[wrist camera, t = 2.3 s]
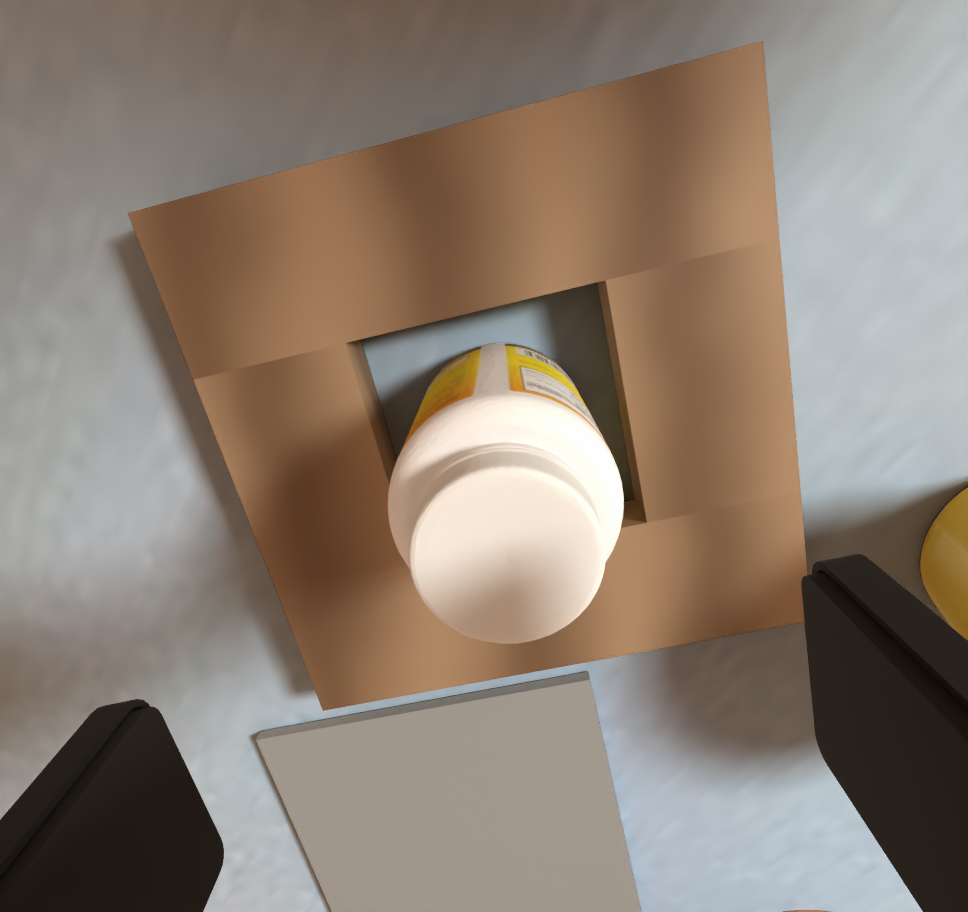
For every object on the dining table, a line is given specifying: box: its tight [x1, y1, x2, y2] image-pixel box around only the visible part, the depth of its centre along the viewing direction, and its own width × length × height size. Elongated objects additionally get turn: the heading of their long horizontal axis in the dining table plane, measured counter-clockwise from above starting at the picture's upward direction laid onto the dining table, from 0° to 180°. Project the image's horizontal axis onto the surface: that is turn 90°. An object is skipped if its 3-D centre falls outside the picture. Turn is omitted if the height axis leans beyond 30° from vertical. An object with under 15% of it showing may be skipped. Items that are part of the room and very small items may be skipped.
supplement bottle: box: [388, 343, 624, 644], centre depth 17 cm, size 6×6×10 cm
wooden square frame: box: [128, 41, 808, 710], centre depth 21 cm, size 18×18×2 cm
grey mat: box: [256, 672, 641, 912], centre depth 28 cm, size 14×14×1 cm
